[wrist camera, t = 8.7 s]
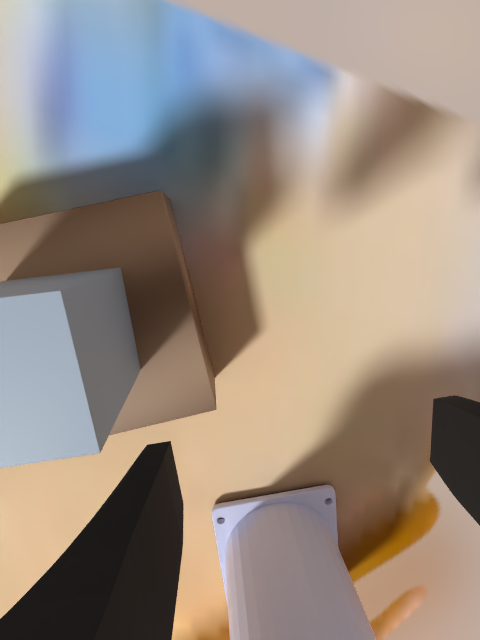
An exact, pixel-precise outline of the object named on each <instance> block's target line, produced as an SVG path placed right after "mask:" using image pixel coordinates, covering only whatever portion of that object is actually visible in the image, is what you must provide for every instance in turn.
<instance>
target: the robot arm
mask: <svg viewBox="0 0 480 640" xmlns="http://www.w3.org/2000/svg"><path fill="white" fill-rule="evenodd" d="M430 462H431V463H432V465H433V466H434V468H435V469H436V471H437V472H438V474H439V475H440V476H441V478H442V480H443V481H444V483H445V484H446V485H447V487H448V488H449V489H450V491H451V492H452V494H453V495H454V496H455V497H456V499H457V500H458V501H459V502H460V503H461V505H462V506H463V507H464V508H465V509H466V510H467V511H468V513H469V514H470V515H471V516H472V517H473V518H474V519H475V521H476V522H477V523H478V524H479V525H480V403H479V402H476V401H473V400H470V399H466V398H463V397H459V396H448V397H442V398H436V399H434V400H433V418H432V437H431V455H430ZM328 498H330V499H329V500H326V499H328ZM220 517H223V518H222V519H218V518H220ZM212 519H213V525H214V531H215V537H216V542H217V548H218V554H219V560H220V566H221V571H222V577H223V583H224V589H225V594H226V600H227V606H228V614H229V631H230V640H377V639H376V637H375V634H374V632H373V630H372V627H371V625H370V623H369V620H368V618H367V615H366V613H365V611H364V608H363V606H362V603H361V601H360V599H359V596H358V594H357V591H356V589H355V587H354V584H353V582H352V579H351V577H350V575H349V572H348V570H347V567H346V565H345V563H344V560H343V558H342V556H341V553H340V551H339V548H338V531H337V513H336V494H335V490H334V488H333V487H332V486H331V485H322V486H316V487H311V488H305V489H299V490H293V491H288V492H282V493H276V494H270V495H265V496H259V497H253V498H247V499H242V500H236V501H230V502H224V503H219V504H216V505H214V506H213V508H212ZM182 547H183V500H182V495H181V490H180V485H179V480H178V475H177V470H176V465H175V461H174V456H173V451H172V446H171V441H169V442H162V443H156V444H150V445H147V446H146V447H145V448H144V450H143V451H142V452H141V454H140V455H139V456H138V458H137V459H136V461H135V462H134V463H133V465H132V466H131V468H130V469H129V470H128V472H127V473H126V475H125V476H124V477H123V479H122V480H121V481H120V483H119V484H118V486H117V487H116V488H115V490H114V491H113V492H112V493H111V495H110V496H109V497H108V499H107V500H106V501H105V503H104V504H103V505H102V507H101V508H100V509H99V511H98V512H97V513H96V514H95V516H94V517H93V518H92V519H91V521H90V522H89V523H88V524H87V525H86V527H85V528H84V529H83V530H82V531H81V533H80V534H79V535H78V536H77V538H76V539H75V540H74V541H73V542H72V544H71V545H70V546H69V547H68V548H67V550H66V551H65V552H64V553H63V554H62V555H61V556H60V558H59V559H58V560H57V561H56V562H55V563H54V564H53V565H52V566H51V568H50V569H49V570H48V571H47V572H46V573H45V574H44V575H43V576H42V577H41V578H40V579H39V580H38V581H37V582H36V583H35V585H34V586H33V587H32V588H31V589H30V590H29V591H28V592H27V593H26V594H25V595H24V596H23V597H22V598H21V599H20V600H19V601H18V602H17V603H16V604H15V605H14V606H13V607H12V608H11V609H10V610H9V611H8V612H7V613H6V614H5V615H4V616H3V617H2V618H1V619H0V640H171V638H172V630H173V622H174V614H175V606H176V598H177V590H178V582H179V573H180V565H181V556H182Z"/></svg>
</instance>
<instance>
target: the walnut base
mask: <svg viewBox="0 0 480 640" xmlns="http://www.w3.org/2000/svg"><path fill="white" fill-rule="evenodd" d="M120 267H121V271H122V276H123V282H124V287H125V292H126V297H127V302H128V307H129V312H130V318H131V323H132V328H133V333H134V338H135V343H136V348H137V353H138V359H139V364H140V369H141V370H140V372H139V374H138V376H137V378H136V380H135V383H134V385H133V387H132V389H131V391H130V393H129V395H128V397H127V399H126V401H125V403H124V405H123V407H122V409H121V411H120V413H119V415H118V417H117V419H116V422H115V424H114V426H113V428H112V430H111V432H110V434H109V435H112V434H117V433H121V432H125V431H129V430H133V429H138V428H142V427H146V426H150V425H154V424H158V423H163V422H167V421H171V420H175V419H179V418H184V417H188V416H192V415H196V414H200V413H204V412H209V411H213V410H216V394H215V378H214V374H213V370H212V366H211V362H210V358H209V354H208V350H207V346H206V342H205V338H204V334H203V330H202V326H201V322H200V318H199V314H198V310H197V306H196V302H195V298H194V294H193V290H192V286H191V282H190V278H189V274H188V270H187V266H186V262H185V258H184V254H183V250H182V246H181V242H180V238H179V234H178V230H177V226H176V222H175V218H174V214H173V210H172V206H171V202H170V199H169V198H168V197H167V196H166V195H165V194H164V193H163V192H162V191H161V190H159V191H154V192H149V193H145V194H140V195H135V196H131V197H126V198H121V199H116V200H112V201H107V202H102V203H97V204H93V205H88V206H83V207H78V208H74V209H69V210H64V211H60V212H55V213H50V214H45V215H41V216H36V217H31V218H26V219H22V220H17V221H12V222H7V223H3V224H0V282H2V281H6V280H15V279H24V278H32V277H41V276H50V275H59V274H67V273H76V272H85V271H94V270H102V269H111V268H120Z"/></svg>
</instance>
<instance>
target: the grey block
mask: <svg viewBox="0 0 480 640" xmlns="http://www.w3.org/2000/svg"><path fill="white" fill-rule="evenodd" d="M140 370H141V369H140V364H139V359H138V353H137V348H136V343H135V338H134V333H133V328H132V323H131V318H130V312H129V307H128V302H127V297H126V292H125V287H124V282H123V276H122V271H121V267H120V268H111V269H102V270H94V271H85V272H76V273H67V274H59V275H50V276H41V277H32V278H24V279H15V280H6V281H2V282H0V468H4V467H11V466H18V465H25V464H31V463H38V462H45V461H51V460H58V459H65V458H72V457H78V456H85V455H92V454H98V453H100V452H101V450H102V448H103V446H104V444H105V442H106V440H107V438H108V436H109V434H110V432H111V430H112V428H113V426H114V424H115V422H116V419H117V417H118V415H119V413H120V411H121V409H122V407H123V405H124V403H125V401H126V399H127V397H128V395H129V393H130V391H131V389H132V387H133V385H134V383H135V380H136V378H137V376H138V374H139V372H140Z"/></svg>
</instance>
